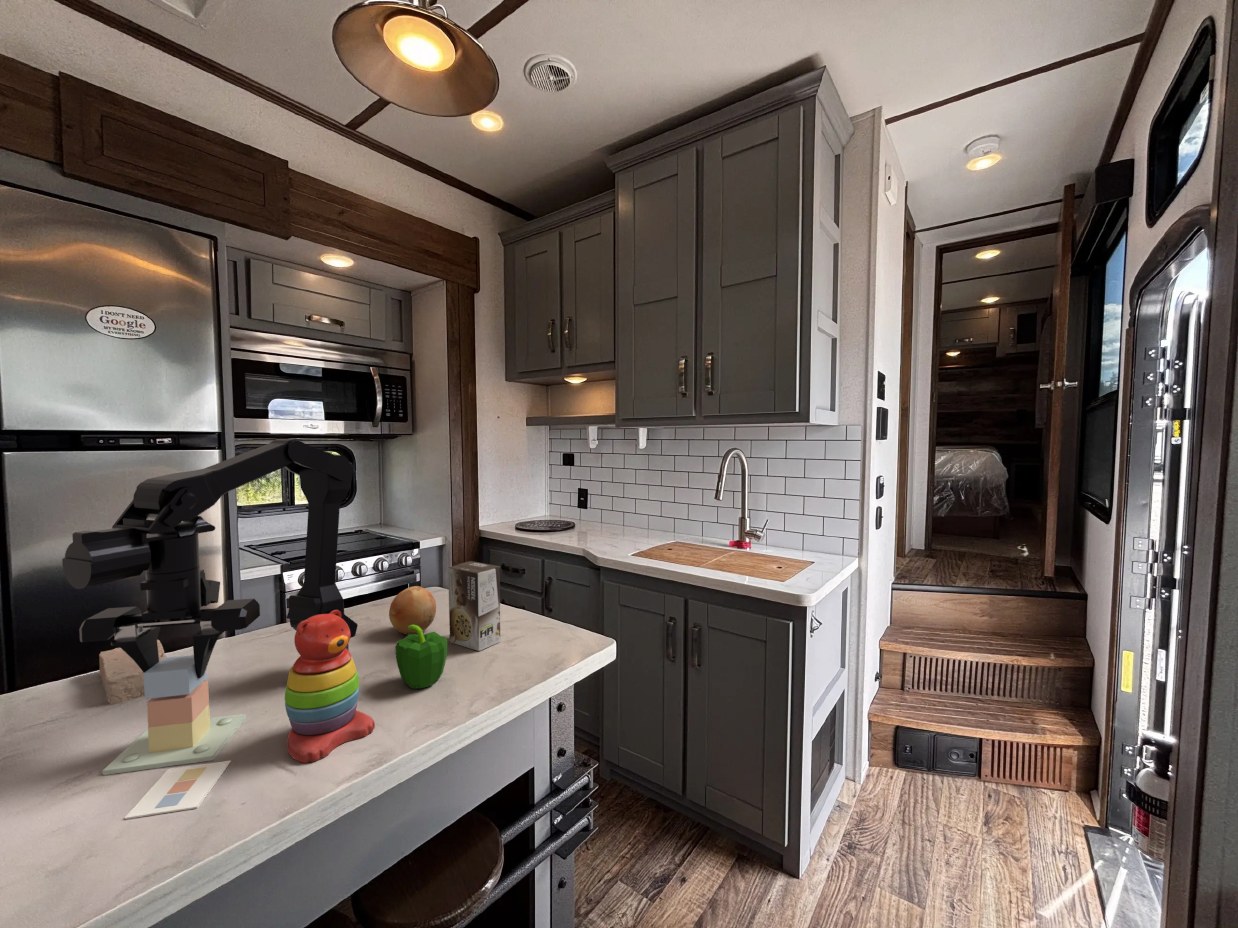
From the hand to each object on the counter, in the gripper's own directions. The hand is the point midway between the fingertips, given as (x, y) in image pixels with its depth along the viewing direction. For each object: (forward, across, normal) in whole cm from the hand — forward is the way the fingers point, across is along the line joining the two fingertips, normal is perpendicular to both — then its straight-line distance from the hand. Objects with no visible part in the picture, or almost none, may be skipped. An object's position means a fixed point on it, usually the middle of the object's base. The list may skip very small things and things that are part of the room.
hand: (178, 679), depth 74 cm
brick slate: (+1, 0, 0) cm, 1 cm away
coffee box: (+10, -40, -27) cm, 49 cm away
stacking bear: (+10, -19, +3) cm, 22 cm away
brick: (+10, +17, -24) cm, 31 cm away
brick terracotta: (+5, 0, 0) cm, 5 cm away
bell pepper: (+10, -31, -11) cm, 34 cm away
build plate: (+9, 0, 0) cm, 9 cm away
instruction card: (+9, -5, +11) cm, 15 cm away
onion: (+10, -27, -36) cm, 46 cm away
